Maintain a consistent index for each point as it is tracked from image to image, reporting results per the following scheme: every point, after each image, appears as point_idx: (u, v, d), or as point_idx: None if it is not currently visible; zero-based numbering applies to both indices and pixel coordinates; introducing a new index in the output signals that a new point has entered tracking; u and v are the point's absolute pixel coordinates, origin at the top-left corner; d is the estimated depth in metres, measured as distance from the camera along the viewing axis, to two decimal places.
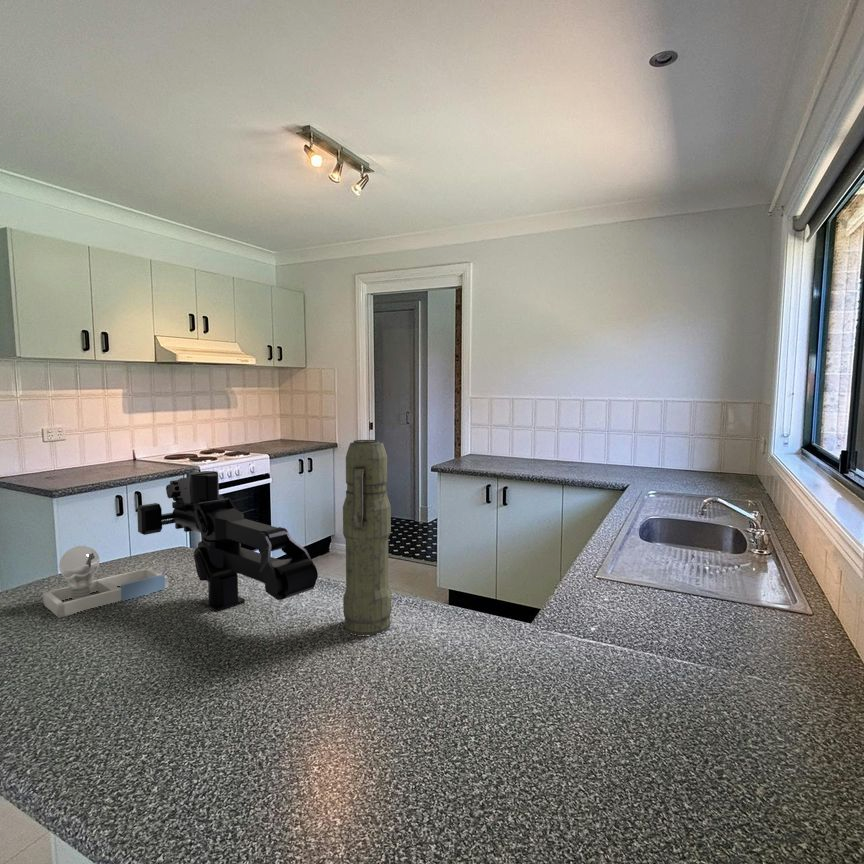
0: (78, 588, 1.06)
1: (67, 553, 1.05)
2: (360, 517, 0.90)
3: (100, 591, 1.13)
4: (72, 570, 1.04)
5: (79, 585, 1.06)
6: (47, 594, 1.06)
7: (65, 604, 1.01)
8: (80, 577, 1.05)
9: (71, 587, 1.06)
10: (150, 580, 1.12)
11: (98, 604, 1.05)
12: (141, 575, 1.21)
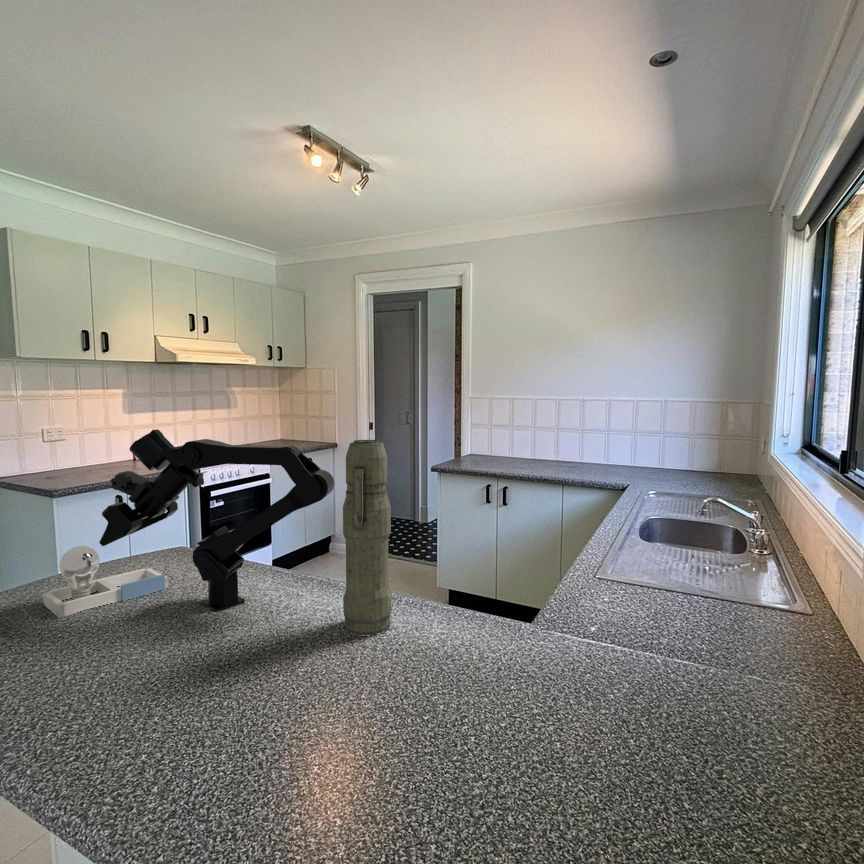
0: (78, 588, 1.06)
1: (67, 553, 1.05)
2: (360, 517, 0.90)
3: (100, 591, 1.13)
4: (72, 570, 1.04)
5: (79, 585, 1.06)
6: (47, 594, 1.06)
7: (65, 604, 1.01)
8: (80, 577, 1.05)
9: (71, 587, 1.06)
10: (150, 580, 1.12)
11: (98, 604, 1.05)
12: (141, 575, 1.21)
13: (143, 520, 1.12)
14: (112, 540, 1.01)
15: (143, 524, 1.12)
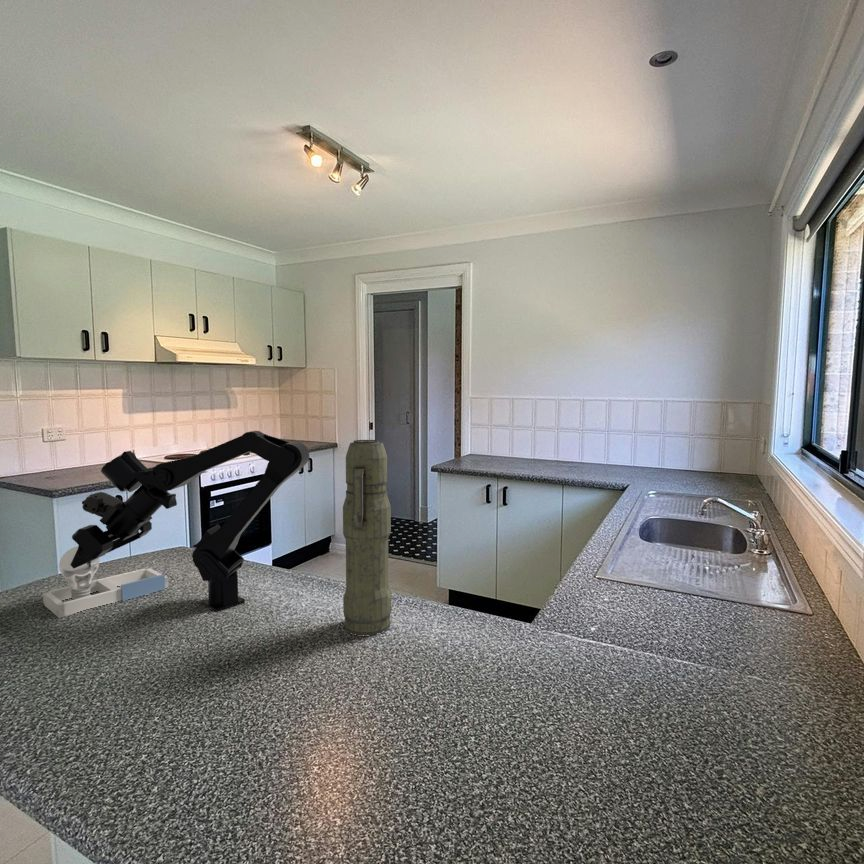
0: (78, 588, 1.06)
1: (67, 553, 1.05)
2: (360, 517, 0.90)
3: (100, 591, 1.13)
4: (71, 570, 1.04)
5: (79, 585, 1.06)
6: (47, 594, 1.06)
7: (65, 604, 1.01)
8: (80, 577, 1.05)
9: (71, 587, 1.06)
10: (150, 580, 1.12)
11: (98, 604, 1.05)
12: (141, 575, 1.21)
13: (116, 540, 1.12)
14: (83, 562, 1.02)
15: (116, 544, 1.12)
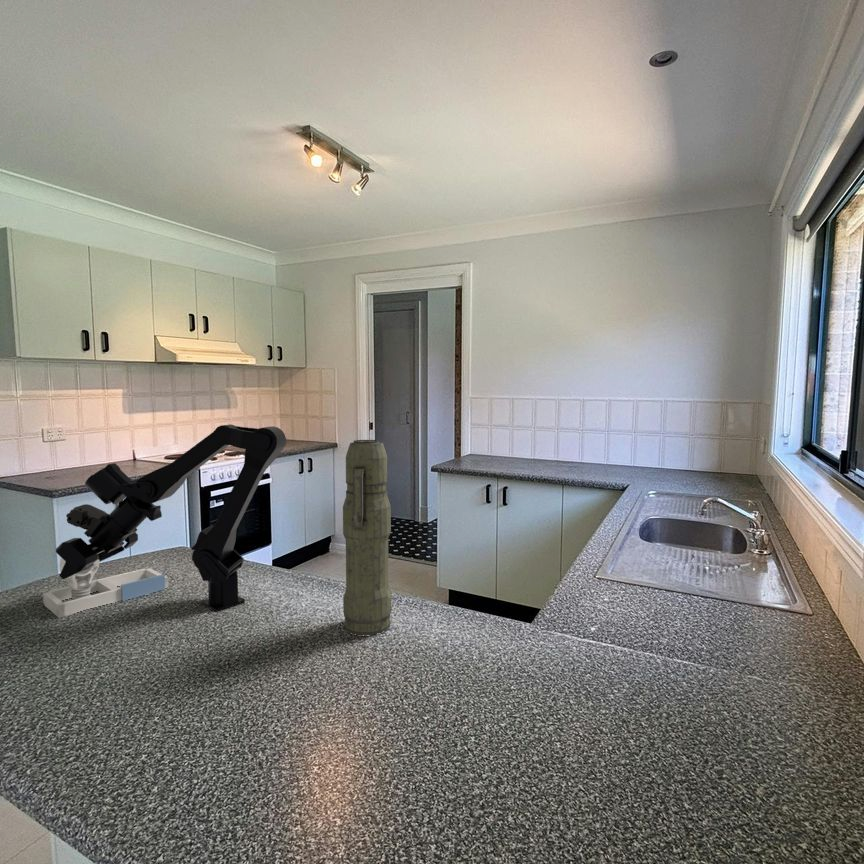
0: (78, 588, 1.06)
1: None
2: (360, 517, 0.90)
3: (100, 591, 1.13)
4: None
5: (79, 585, 1.06)
6: (47, 594, 1.06)
7: (65, 604, 1.01)
8: (80, 577, 1.05)
9: (71, 587, 1.06)
10: (150, 580, 1.12)
11: (98, 604, 1.05)
12: (141, 575, 1.21)
13: (98, 554, 1.11)
14: (72, 573, 1.03)
15: None
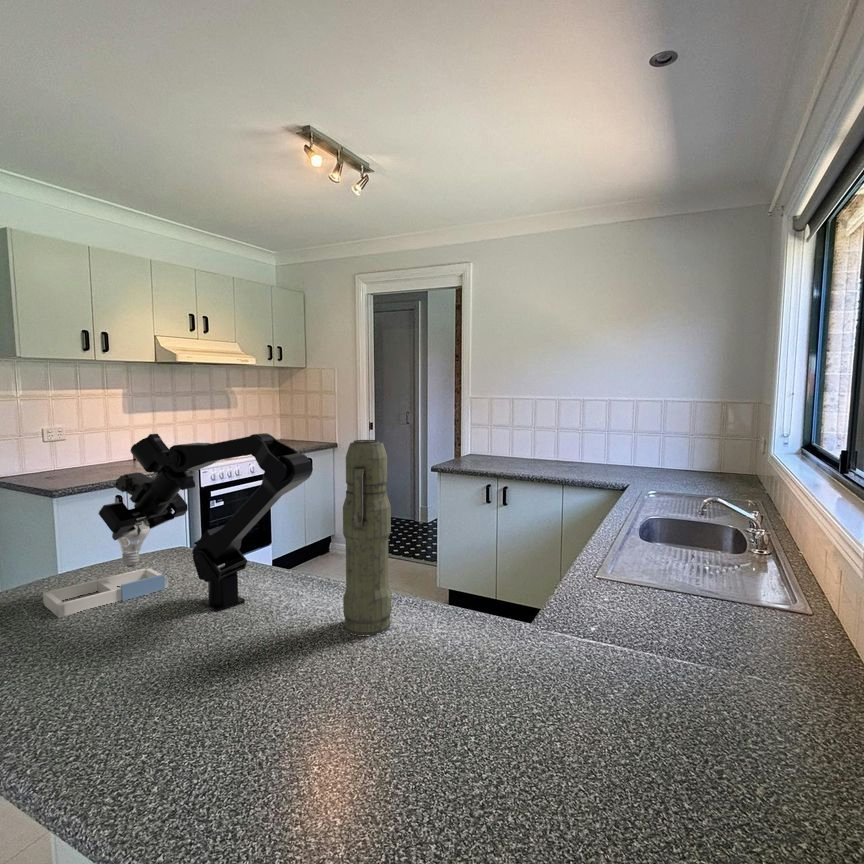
0: (127, 551, 1.13)
1: None
2: (360, 517, 0.90)
3: (100, 591, 1.13)
4: None
5: (127, 548, 1.13)
6: (47, 594, 1.06)
7: (65, 604, 1.01)
8: (128, 540, 1.12)
9: (121, 549, 1.13)
10: (150, 580, 1.12)
11: (98, 604, 1.05)
12: (141, 575, 1.21)
13: (151, 520, 1.17)
14: (119, 535, 1.10)
15: (150, 524, 1.17)
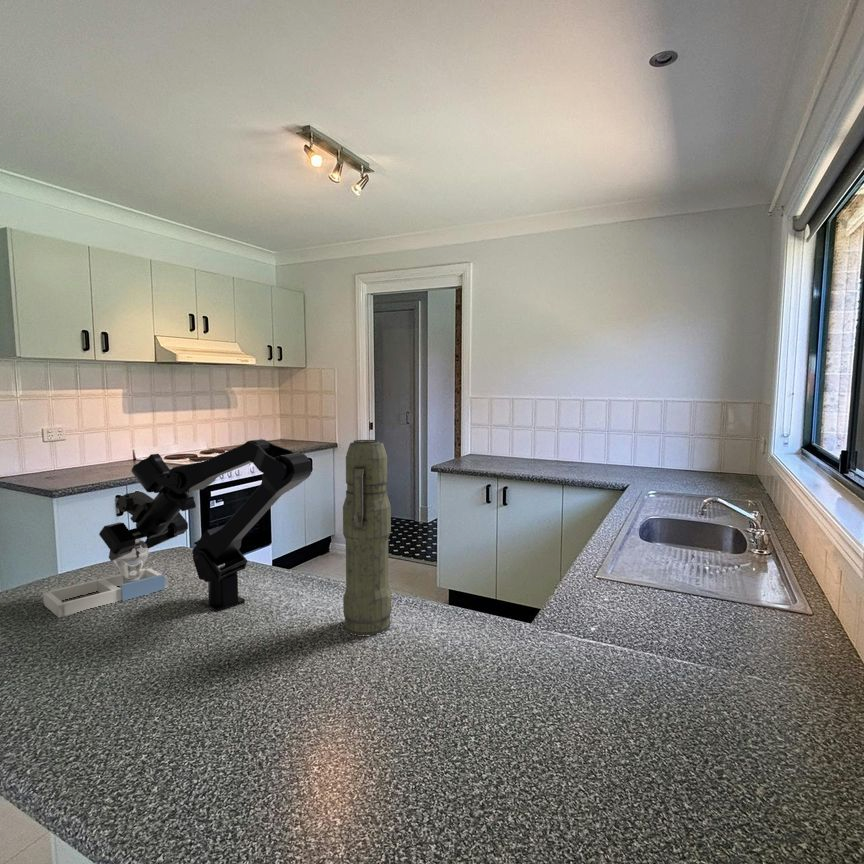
0: (126, 576, 1.13)
1: None
2: (360, 517, 0.90)
3: (100, 591, 1.13)
4: (119, 559, 1.11)
5: (127, 574, 1.13)
6: (47, 594, 1.06)
7: (65, 604, 1.01)
8: (127, 566, 1.12)
9: (121, 575, 1.13)
10: (150, 580, 1.12)
11: (98, 604, 1.05)
12: (141, 575, 1.21)
13: (154, 538, 1.18)
14: (116, 556, 1.09)
15: (154, 541, 1.19)
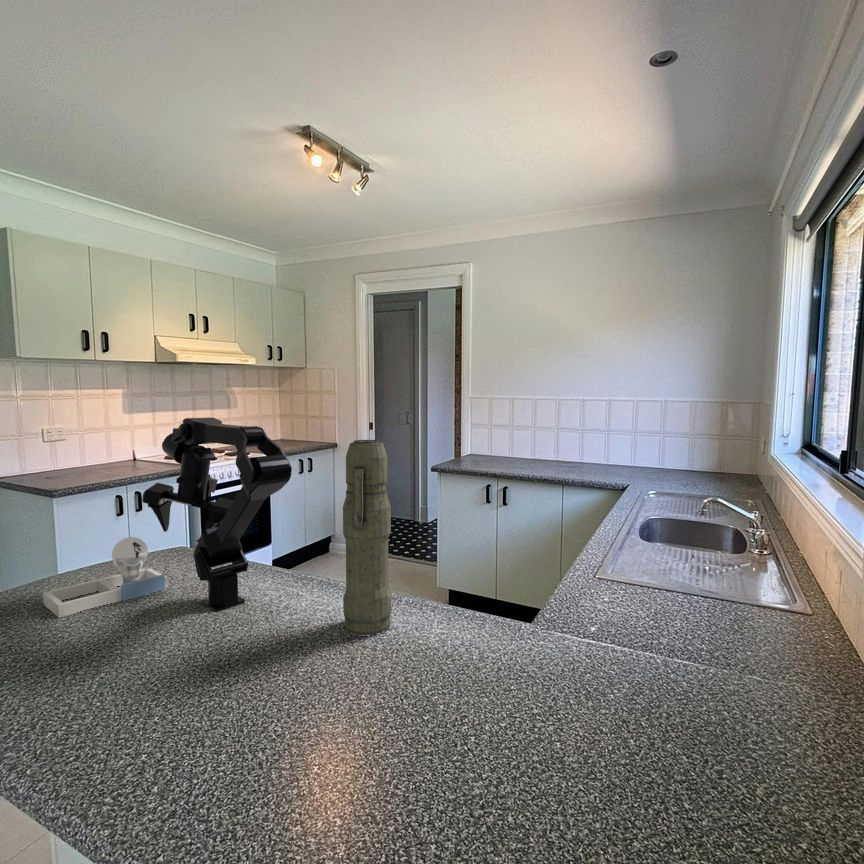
0: (126, 577, 1.13)
1: (118, 543, 1.13)
2: (360, 517, 0.90)
3: (100, 591, 1.13)
4: (119, 559, 1.11)
5: (127, 574, 1.13)
6: (47, 594, 1.06)
7: (65, 604, 1.01)
8: (127, 566, 1.12)
9: (121, 575, 1.13)
10: (150, 580, 1.12)
11: (98, 604, 1.05)
12: (141, 575, 1.21)
13: None
14: None
15: None
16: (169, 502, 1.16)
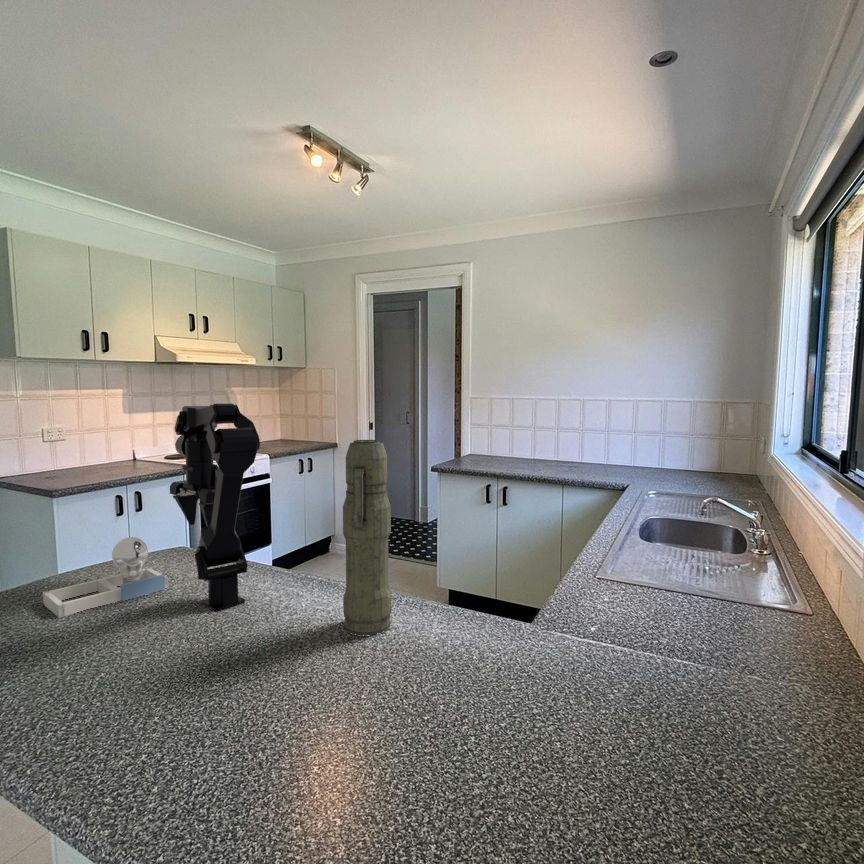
0: (126, 577, 1.13)
1: (118, 543, 1.13)
2: (360, 517, 0.90)
3: (100, 591, 1.13)
4: (119, 559, 1.11)
5: (127, 574, 1.13)
6: (47, 594, 1.06)
7: (65, 604, 1.01)
8: (127, 567, 1.12)
9: (121, 575, 1.13)
10: (150, 580, 1.12)
11: (98, 604, 1.05)
12: (141, 575, 1.21)
13: None
14: None
15: None
16: (194, 496, 1.22)
